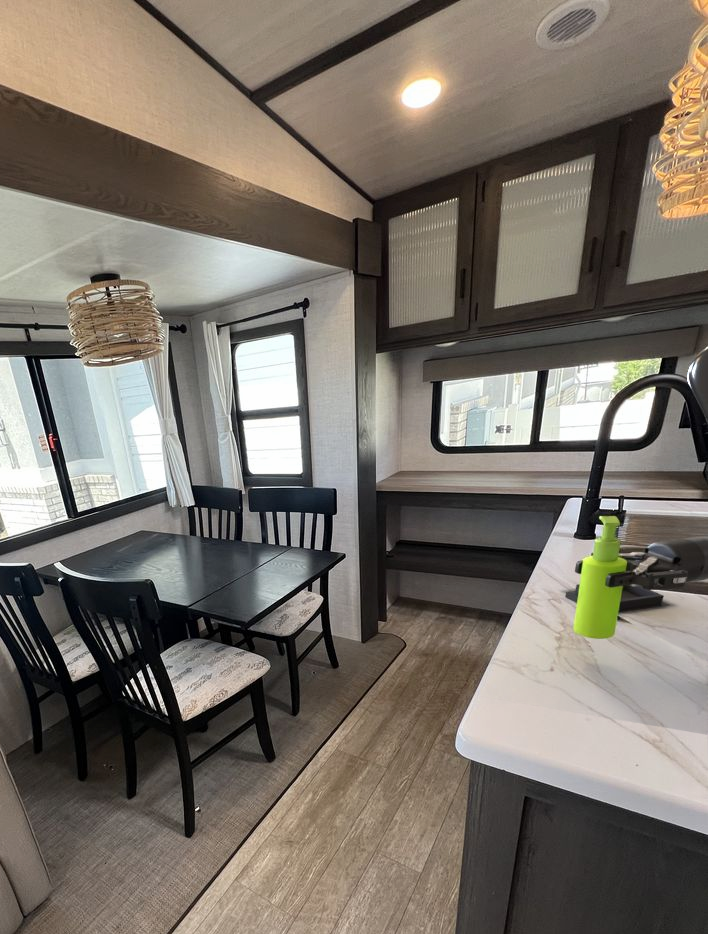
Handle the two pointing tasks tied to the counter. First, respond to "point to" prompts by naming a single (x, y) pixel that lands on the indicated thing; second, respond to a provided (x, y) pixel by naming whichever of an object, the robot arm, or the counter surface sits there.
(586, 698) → the counter surface
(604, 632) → the soap dispenser
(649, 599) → the black square tray
